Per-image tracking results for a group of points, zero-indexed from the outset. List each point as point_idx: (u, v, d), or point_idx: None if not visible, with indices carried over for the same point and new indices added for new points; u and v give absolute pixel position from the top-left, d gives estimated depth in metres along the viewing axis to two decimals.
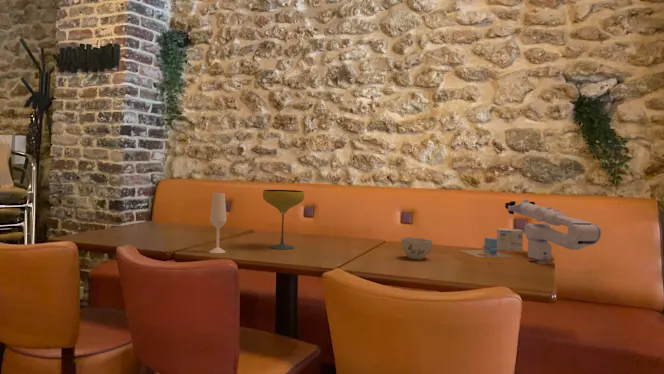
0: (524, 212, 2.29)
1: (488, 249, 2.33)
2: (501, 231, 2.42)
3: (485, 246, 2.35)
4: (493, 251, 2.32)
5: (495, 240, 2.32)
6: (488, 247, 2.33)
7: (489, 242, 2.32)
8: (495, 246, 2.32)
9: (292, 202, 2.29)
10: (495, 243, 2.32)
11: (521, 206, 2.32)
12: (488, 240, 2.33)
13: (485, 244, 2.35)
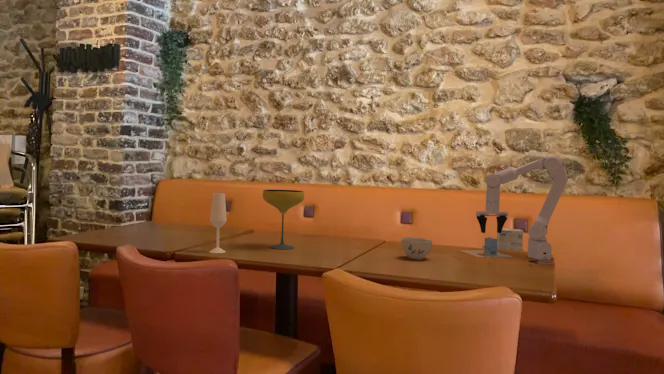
0: (488, 203, 2.32)
1: (488, 249, 2.33)
2: (501, 231, 2.42)
3: (485, 246, 2.35)
4: (493, 251, 2.32)
5: (495, 240, 2.32)
6: (488, 247, 2.33)
7: (489, 242, 2.32)
8: (495, 246, 2.32)
9: (292, 202, 2.29)
10: (495, 243, 2.32)
11: (485, 209, 2.34)
12: (488, 240, 2.33)
13: (485, 244, 2.35)
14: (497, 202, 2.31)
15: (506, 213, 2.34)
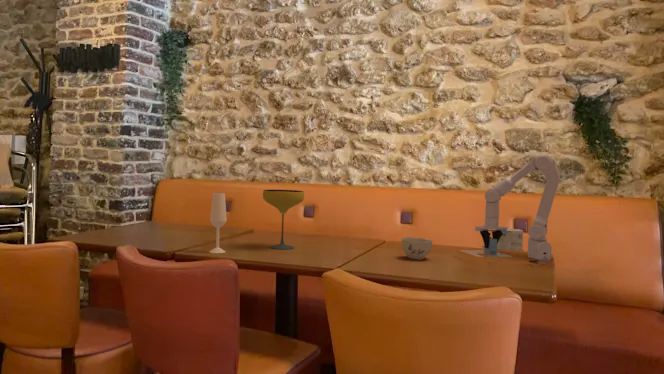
0: (487, 218, 2.32)
1: (488, 249, 2.33)
2: (501, 231, 2.42)
3: None
4: (493, 251, 2.32)
5: (495, 240, 2.32)
6: None
7: (489, 242, 2.32)
8: (495, 246, 2.32)
9: (292, 202, 2.29)
10: (495, 243, 2.32)
11: None
12: None
13: None
14: (496, 217, 2.31)
15: (505, 228, 2.34)
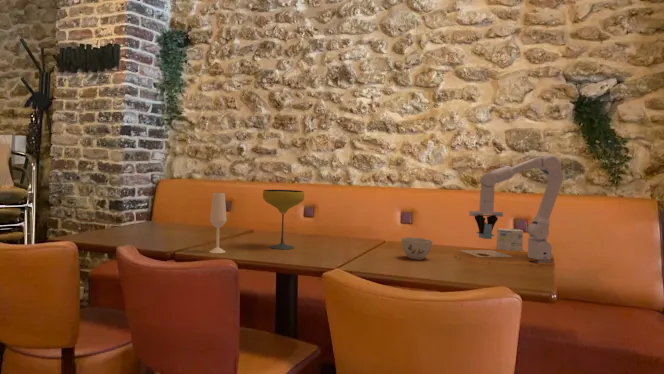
0: (482, 202, 2.24)
1: (483, 235, 2.25)
2: (501, 231, 2.42)
3: None
4: (488, 237, 2.24)
5: (490, 225, 2.24)
6: (483, 233, 2.25)
7: (484, 227, 2.24)
8: (490, 232, 2.24)
9: (292, 202, 2.29)
10: (490, 228, 2.24)
11: (479, 209, 2.26)
12: None
13: None
14: (491, 202, 2.23)
15: (501, 213, 2.26)
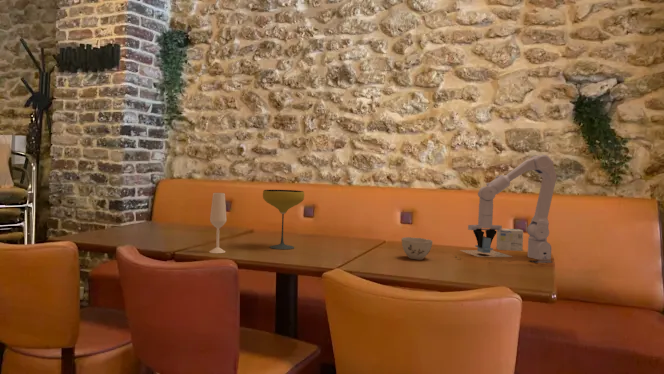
0: (480, 216, 2.23)
1: (481, 248, 2.24)
2: (501, 231, 2.42)
3: None
4: (486, 251, 2.23)
5: (489, 239, 2.23)
6: None
7: (482, 241, 2.23)
8: (489, 245, 2.23)
9: (292, 202, 2.29)
10: (489, 242, 2.23)
11: (478, 222, 2.26)
12: None
13: None
14: (490, 215, 2.23)
15: (499, 227, 2.26)
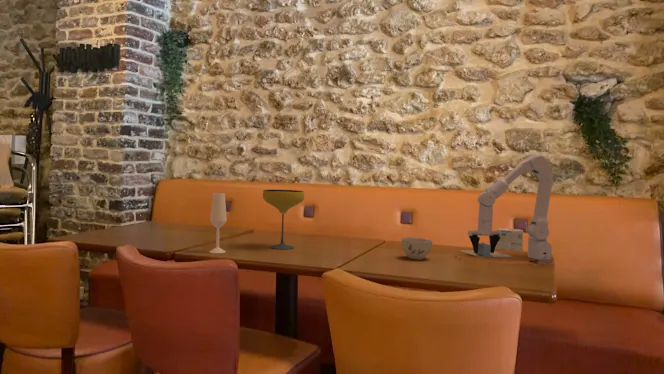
0: (480, 222, 2.24)
1: (481, 255, 2.24)
2: None
3: (478, 252, 2.27)
4: None
5: (488, 246, 2.23)
6: (481, 253, 2.24)
7: (482, 248, 2.24)
8: (488, 252, 2.23)
9: (292, 202, 2.29)
10: (488, 249, 2.23)
11: (478, 228, 2.26)
12: (481, 246, 2.24)
13: (478, 250, 2.27)
14: (490, 221, 2.23)
15: (499, 232, 2.26)
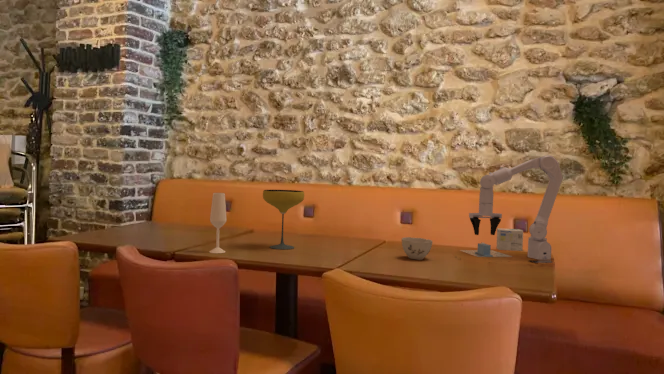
0: (481, 204, 2.28)
1: (481, 255, 2.24)
2: (501, 231, 2.42)
3: (478, 252, 2.27)
4: None
5: (488, 246, 2.23)
6: (481, 253, 2.24)
7: (482, 248, 2.24)
8: (488, 252, 2.23)
9: (292, 202, 2.29)
10: (488, 249, 2.23)
11: None
12: (481, 246, 2.24)
13: (478, 250, 2.27)
14: (490, 204, 2.27)
15: (500, 215, 2.30)
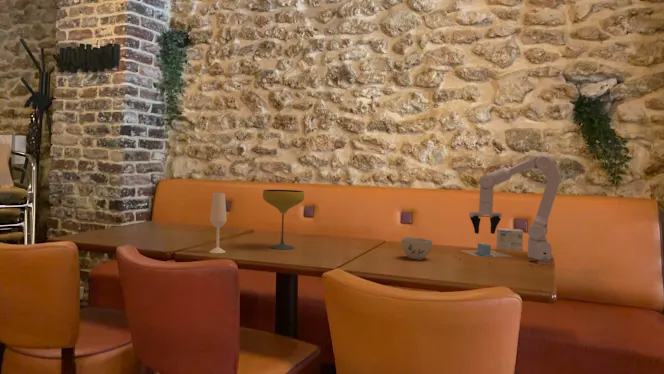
0: (481, 204, 2.33)
1: (481, 255, 2.24)
2: (501, 231, 2.42)
3: (478, 252, 2.27)
4: None
5: (488, 246, 2.23)
6: (481, 253, 2.24)
7: (482, 248, 2.24)
8: (488, 252, 2.23)
9: (292, 202, 2.29)
10: (488, 249, 2.23)
11: (479, 210, 2.35)
12: (481, 246, 2.24)
13: (478, 250, 2.27)
14: (490, 203, 2.32)
15: (499, 214, 2.35)
